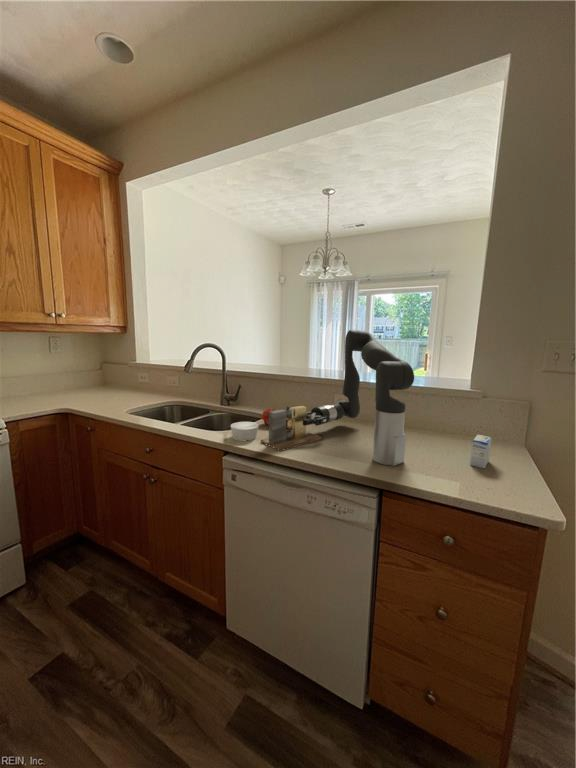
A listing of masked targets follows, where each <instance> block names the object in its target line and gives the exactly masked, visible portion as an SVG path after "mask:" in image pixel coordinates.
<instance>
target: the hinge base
mask: <svg viewBox="0 0 576 768" xmlns="http://www.w3.org/2000/svg"><path fill="white" fill-rule="evenodd" d="M289 418H292V409H290V405H287V406H286V408H282V409H277V410H276V409H275V411H270V412H269V424H268V437H267V438H262V439H260V443H261V442H263V443H265V444H267V445H266V446H268V445H270V446H272V447H274V448H273V449H275V448H276V449H275V450H277V449H279V450H283V449H286V450H288V449H287V448H289V449H292V448H291V447H293V448H295V447H294V446H296V447H299V446H298V445H300V446H302V444H303V445H307V444H310V443H312V442H317V441H319V440H322V438H323V437H322V436H320V435H318V434H315V433H312V432H309V431H306V436H304V437H301V438H297V439H293V438H292V431H290V430H286V419H289ZM309 442H310V443H309ZM263 443H262V444H263ZM306 443H307V444H306ZM265 444H264V445H265ZM270 446H269V447H270ZM272 447H271V448H272ZM279 450H278V451H279ZM283 451H284V450H283Z"/></svg>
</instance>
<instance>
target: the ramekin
mask: <svg viewBox="0 0 576 768" xmlns="http://www.w3.org/2000/svg"><path fill="white" fill-rule="evenodd" d="M230 429H231V435H232V438H233V439H234V440H235V439H236V440H235V441H238V440H249V441H253V440H255V439H256V438H257V435H258V430H259V424H258V423H256V422H253V421H238V422H233V423H231V424H230ZM254 438H255V439H254ZM252 439H253V440H252Z"/></svg>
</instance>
